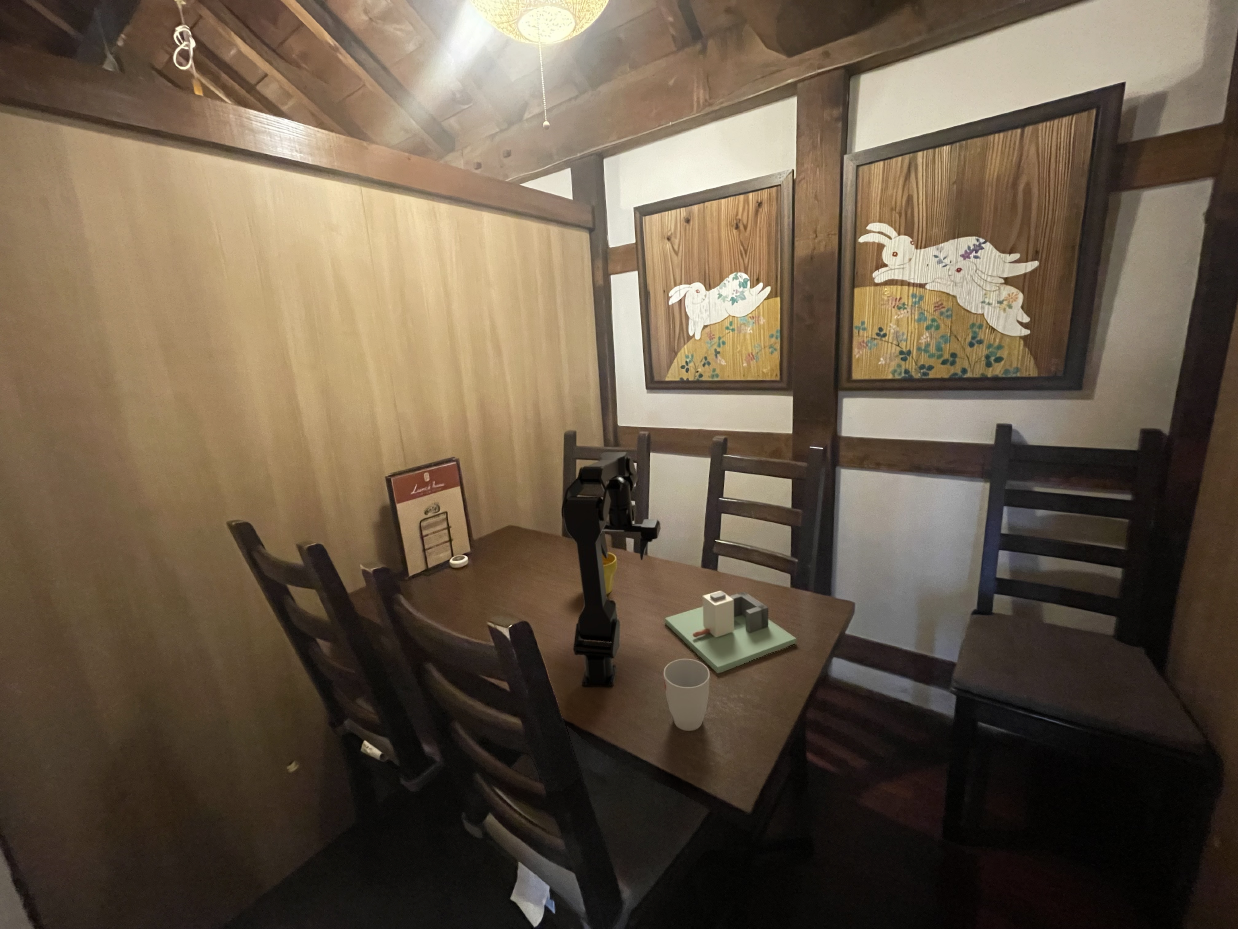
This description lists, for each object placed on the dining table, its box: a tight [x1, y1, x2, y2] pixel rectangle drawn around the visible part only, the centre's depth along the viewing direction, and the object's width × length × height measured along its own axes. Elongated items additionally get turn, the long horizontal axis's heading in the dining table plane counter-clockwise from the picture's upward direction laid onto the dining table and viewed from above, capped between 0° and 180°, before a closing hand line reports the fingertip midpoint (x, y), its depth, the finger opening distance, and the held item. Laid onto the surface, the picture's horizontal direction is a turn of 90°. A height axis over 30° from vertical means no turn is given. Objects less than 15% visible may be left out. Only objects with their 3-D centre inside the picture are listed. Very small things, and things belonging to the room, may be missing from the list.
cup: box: [663, 658, 710, 732], centre depth 90 cm, size 8×8×10 cm
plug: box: [693, 590, 734, 637], centre depth 114 cm, size 9×5×9 cm, turn 114°
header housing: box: [728, 591, 769, 633], centre depth 118 cm, size 5×9×5 cm, turn 24°
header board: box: [664, 606, 797, 674], centre depth 117 cm, size 21×22×2 cm
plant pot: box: [602, 552, 618, 595], centre depth 141 cm, size 10×10×10 cm
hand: (624, 558), depth 126 cm, fingers open, 9 cm apart
